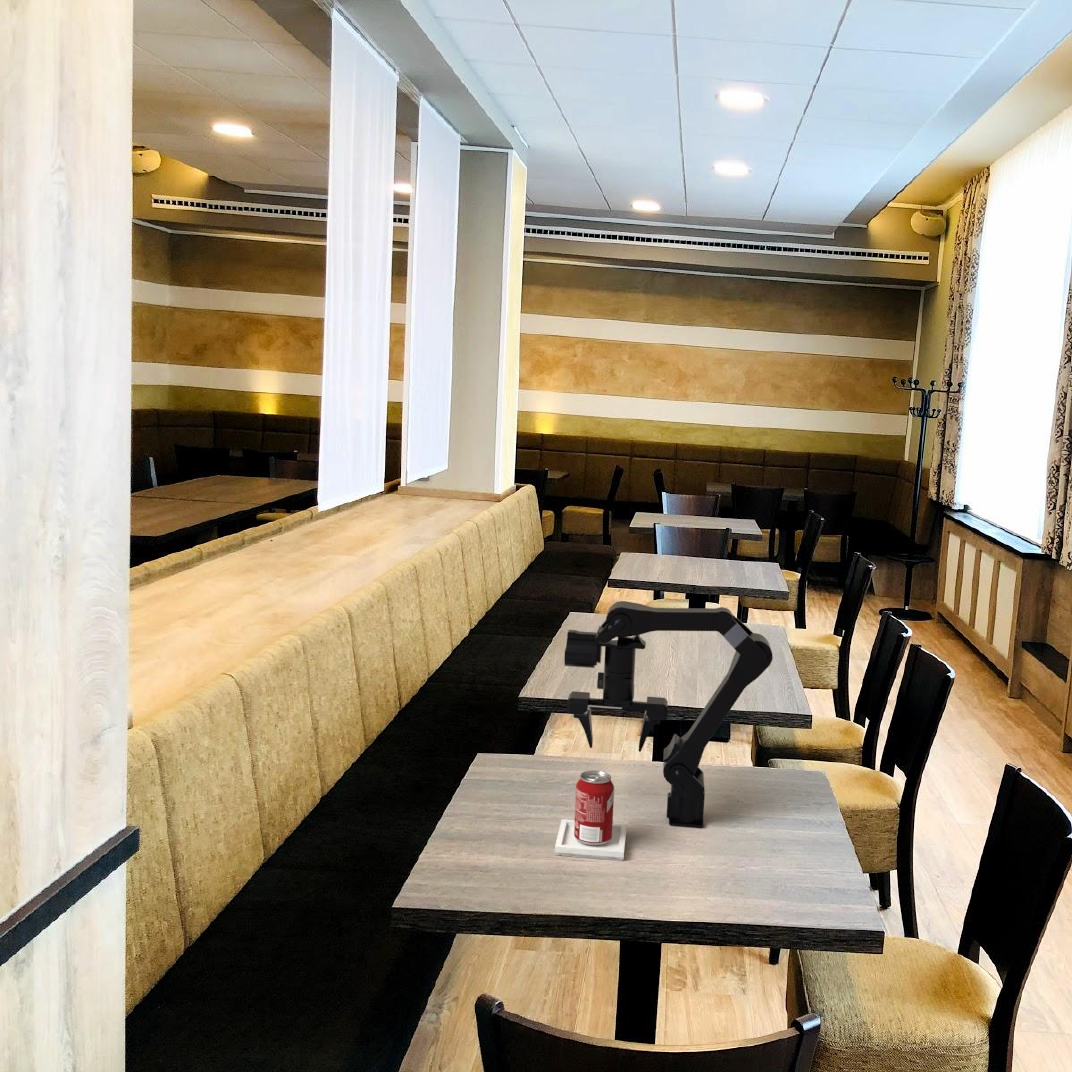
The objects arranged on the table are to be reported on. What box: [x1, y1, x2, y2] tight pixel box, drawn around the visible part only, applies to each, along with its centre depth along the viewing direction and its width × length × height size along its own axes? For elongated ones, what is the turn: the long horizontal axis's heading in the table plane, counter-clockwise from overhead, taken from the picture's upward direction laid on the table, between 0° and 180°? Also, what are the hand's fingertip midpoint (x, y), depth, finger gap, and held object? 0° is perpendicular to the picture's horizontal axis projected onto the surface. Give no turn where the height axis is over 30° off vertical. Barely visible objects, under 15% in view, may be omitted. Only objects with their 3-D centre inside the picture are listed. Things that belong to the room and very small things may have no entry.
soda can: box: [574, 770, 615, 846], centre depth 197 cm, size 7×7×12 cm
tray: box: [554, 818, 628, 862], centre depth 198 cm, size 12×12×2 cm
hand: (615, 749), depth 209 cm, fingers open, 9 cm apart
